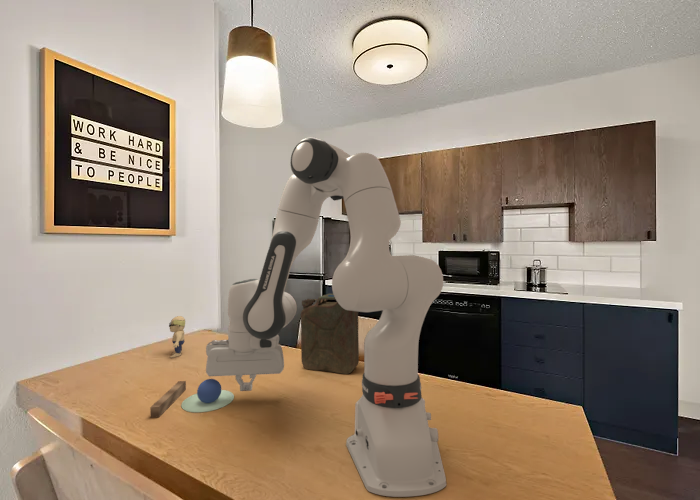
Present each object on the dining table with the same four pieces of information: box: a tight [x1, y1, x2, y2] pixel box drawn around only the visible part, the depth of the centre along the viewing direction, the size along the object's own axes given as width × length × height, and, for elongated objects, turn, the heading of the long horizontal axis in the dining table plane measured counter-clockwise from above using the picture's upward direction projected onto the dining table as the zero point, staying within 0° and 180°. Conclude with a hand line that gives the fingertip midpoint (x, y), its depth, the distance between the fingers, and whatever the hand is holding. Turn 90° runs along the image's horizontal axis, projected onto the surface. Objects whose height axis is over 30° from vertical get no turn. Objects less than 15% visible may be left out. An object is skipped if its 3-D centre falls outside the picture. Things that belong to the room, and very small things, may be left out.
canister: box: [300, 293, 360, 375], centre depth 114 cm, size 19×8×25 cm, turn 70°
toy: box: [168, 315, 186, 358], centre depth 130 cm, size 13×6×15 cm, turn 17°
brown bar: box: [149, 380, 187, 418], centre depth 90 cm, size 16×2×2 cm, turn 4°
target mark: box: [180, 389, 235, 413], centre depth 91 cm, size 13×13×1 cm
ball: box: [196, 378, 222, 403], centre depth 90 cm, size 6×6×6 cm
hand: (246, 390), depth 92 cm, fingers closed
